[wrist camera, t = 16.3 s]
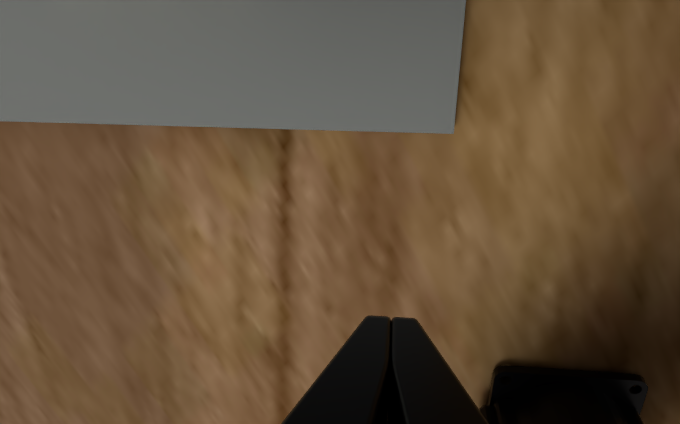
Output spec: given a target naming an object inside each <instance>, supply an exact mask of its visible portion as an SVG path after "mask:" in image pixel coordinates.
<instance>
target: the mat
mask: <svg viewBox="0 0 680 424" xmlns="http://www.w3.org/2000/svg"><path fill="white" fill-rule="evenodd" d="M465 5H466V0H0V121H16V122H52V123H88V124H123V125H159V126H195V127H231V128H267V129H302V130H338V131H374V132H410V133H446V134H454V124H455V113H456V102H457V91H458V81H459V70H460V59H461V48H462V38H463V27H464V16H465Z"/></svg>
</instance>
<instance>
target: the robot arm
mask: <svg viewBox="0 0 680 424" xmlns="http://www.w3.org/2000/svg"><path fill="white" fill-rule="evenodd" d="M503 376H508V377H507V378H501V377H503ZM634 385H637V386H635V387H632V386H634ZM647 391H648V386H647V385H646V383H645V381H644V379H643V377H641V376H640V375H636V374H624V373H609V372H594V371H579V370H565V369H550V368H535V367H520V366H499V367H497V368H496V369H495V370H494V371H493V373H492V380H491V386H490V392H489V399H488V405H483V406H482V407H481V408H480V410H479V409H478V408H477V406H476V405H475V403H474V402H473V400H472V399H471V397H470V396H469V395H468V393H467V392H466V390H465V389H464V387H463V386H462V384H461V383H460V381H459V380H458V379H457V377H456V376H455V374H454V373H453V371H452V370H451V368H450V367H449V365H448V364H447V363H446V361H445V360H444V358H443V357H442V355H441V354H440V352H439V351H438V350H437V348H436V347H435V345H434V344H433V342H432V341H431V339H430V338H429V336H428V335H427V334H426V332H425V331H424V329H423V328H422V326H421V325H420V323H419V322H418V321H417V320H416V319H415V318H403V317H394V318H393V319H392V321H391V319H390V318H389V317H386V316H367V317H365V318H364V320H363V321H362V322H361V323H360V325H359V326H358V327H357V329H356V330H355V331H354V332H353V334H352V335H351V336H350V337H349V339H348V340H347V341H346V342H345V344H344V345H343V346H342V348H341V349H340V350H339V351H338V353H337V354H336V355H335V356H334V358H333V359H332V360H331V361H330V363H329V364H328V365H327V367H326V368H325V369H324V370H323V372H322V373H321V374H320V375H319V377H318V378H317V379H316V380H315V382H314V383H313V384H312V386H311V387H310V388H309V389H308V391H307V392H306V393H305V394H304V396H303V397H302V398H301V399H300V401H299V402H298V403H297V404H296V406H295V407H294V408H293V410H292V411H291V412H290V413H289V415H288V416H287V417H286V418H285V420H284V421H283V422H282V423H281V424H644V423H643V421H642V420H641V418H640V416H639V415H640V412H641V409H642V406H643V403H644V400H645V397H646V394H647Z"/></svg>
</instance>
